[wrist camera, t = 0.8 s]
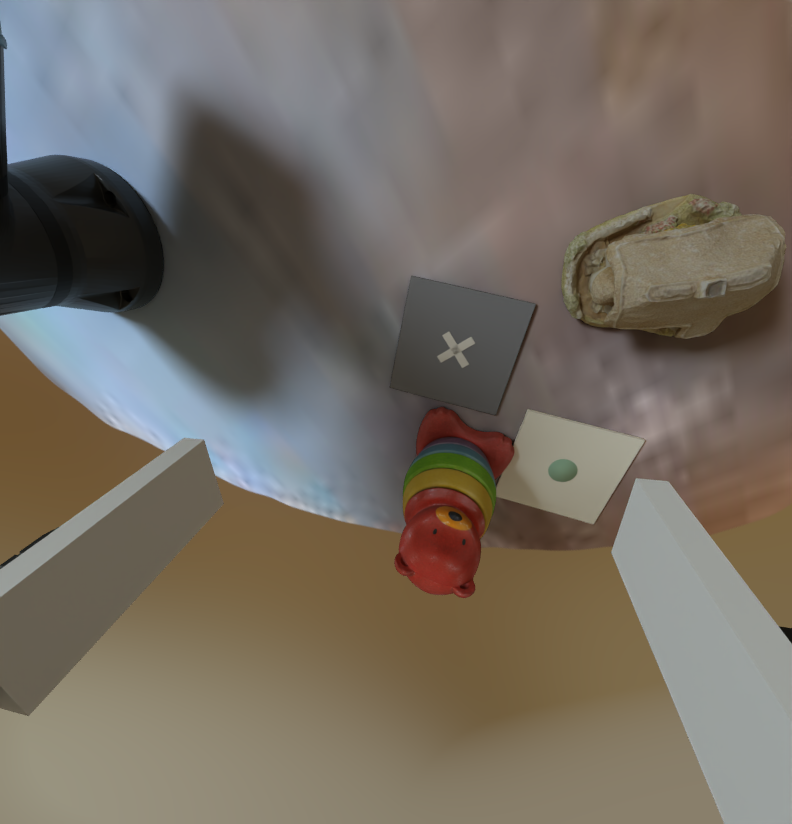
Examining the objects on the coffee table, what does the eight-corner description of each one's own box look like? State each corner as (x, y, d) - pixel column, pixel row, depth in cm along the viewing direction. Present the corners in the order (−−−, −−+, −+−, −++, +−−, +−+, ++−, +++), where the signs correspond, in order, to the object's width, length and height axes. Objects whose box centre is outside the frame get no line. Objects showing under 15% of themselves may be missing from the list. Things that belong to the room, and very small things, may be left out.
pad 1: (390, 386, 41) (389, 387, 40) (411, 275, 35) (410, 276, 35) (495, 413, 39) (495, 415, 39) (535, 303, 34) (535, 304, 33)
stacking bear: (521, 441, 40) (535, 574, 24) (479, 502, 45) (468, 645, 29) (432, 400, 40) (391, 504, 25) (400, 465, 45) (349, 586, 30)
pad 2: (493, 493, 44) (493, 496, 44) (527, 408, 38) (528, 410, 38) (592, 521, 43) (593, 524, 42) (643, 438, 37) (645, 440, 37)
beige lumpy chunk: (764, 180, 27) (900, 155, 18) (732, 328, 32) (828, 365, 23) (561, 217, 31) (592, 211, 22) (558, 345, 35) (583, 383, 26)
